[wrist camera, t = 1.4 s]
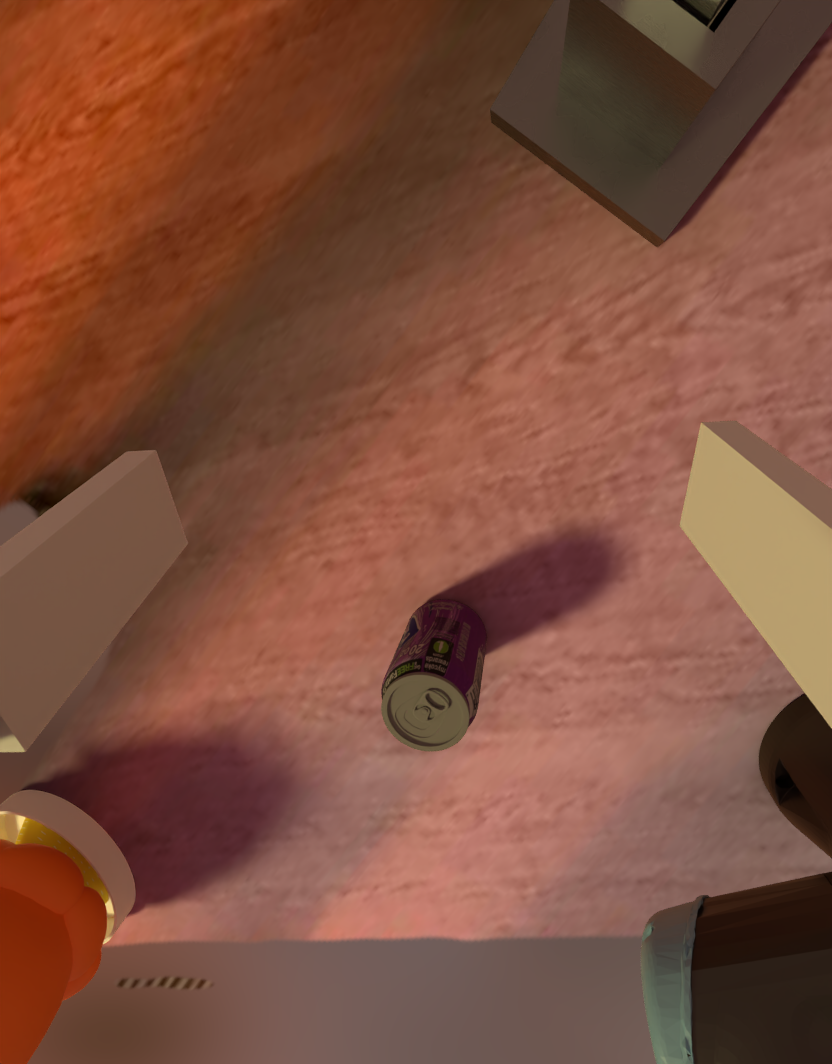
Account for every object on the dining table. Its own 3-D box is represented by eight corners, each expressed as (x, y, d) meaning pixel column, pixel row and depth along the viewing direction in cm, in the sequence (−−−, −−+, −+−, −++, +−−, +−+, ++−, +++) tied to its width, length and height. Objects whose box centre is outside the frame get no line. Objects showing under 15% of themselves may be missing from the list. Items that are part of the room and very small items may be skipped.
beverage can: (439, 580, 47) (413, 649, 35) (503, 629, 47) (497, 713, 36) (393, 634, 49) (355, 715, 38) (454, 681, 49) (434, 774, 38)
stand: (827, 24, 31) (998, -166, 20) (657, 247, 36) (718, 194, 25) (637, -123, 31) (703, -400, 20) (491, 122, 36) (477, 12, 25)
